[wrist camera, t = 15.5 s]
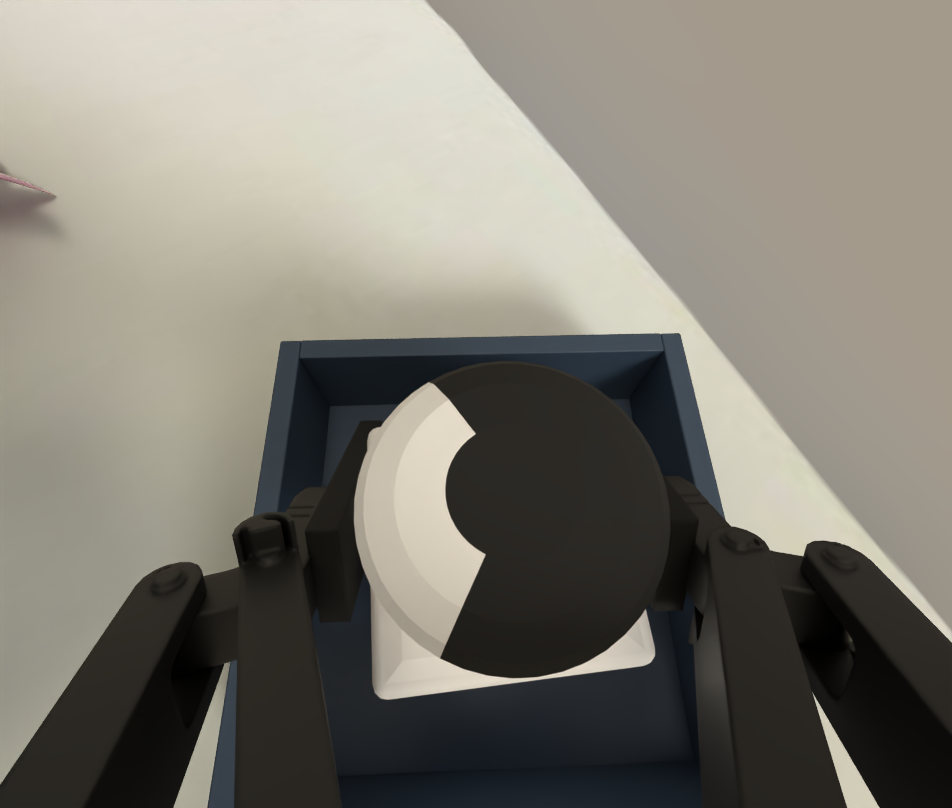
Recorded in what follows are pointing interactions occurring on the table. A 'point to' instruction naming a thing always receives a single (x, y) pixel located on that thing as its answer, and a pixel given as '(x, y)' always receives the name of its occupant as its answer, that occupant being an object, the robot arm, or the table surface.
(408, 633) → the medicine bottle
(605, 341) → the tote
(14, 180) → the lily
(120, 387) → the table surface
